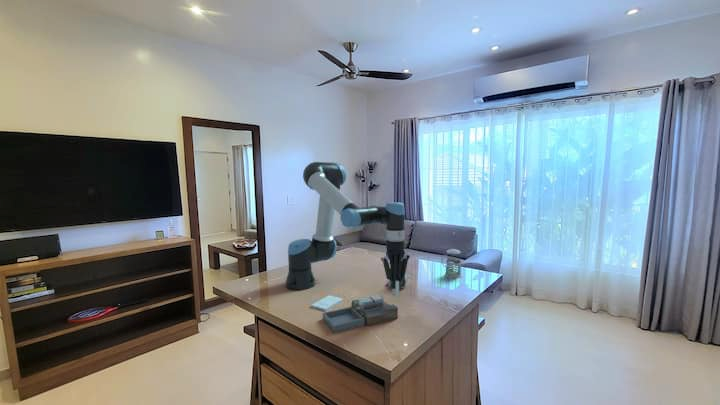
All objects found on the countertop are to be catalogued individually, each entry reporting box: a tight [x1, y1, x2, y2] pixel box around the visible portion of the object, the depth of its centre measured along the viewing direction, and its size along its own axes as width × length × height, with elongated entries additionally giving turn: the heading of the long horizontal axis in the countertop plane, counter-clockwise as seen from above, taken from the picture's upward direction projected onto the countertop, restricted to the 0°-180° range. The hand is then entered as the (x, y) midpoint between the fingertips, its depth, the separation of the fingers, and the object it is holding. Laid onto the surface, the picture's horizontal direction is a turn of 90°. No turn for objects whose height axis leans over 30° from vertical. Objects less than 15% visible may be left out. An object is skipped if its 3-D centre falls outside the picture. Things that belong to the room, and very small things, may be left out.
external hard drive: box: [310, 294, 344, 312], centre depth 130 cm, size 2×8×12 cm
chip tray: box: [322, 306, 366, 333], centre depth 113 cm, size 12×12×2 cm
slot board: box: [350, 295, 399, 327], centre depth 119 cm, size 14×14×4 cm
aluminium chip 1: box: [358, 296, 373, 311], centre depth 117 cm, size 4×4×4 cm
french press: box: [440, 231, 463, 279], centre depth 167 cm, size 10×12×25 cm
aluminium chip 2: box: [369, 294, 384, 309], centre depth 119 cm, size 4×4×4 cm
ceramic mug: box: [386, 272, 409, 289], centre depth 152 cm, size 11×8×8 cm
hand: (395, 295), depth 123 cm, fingers closed
